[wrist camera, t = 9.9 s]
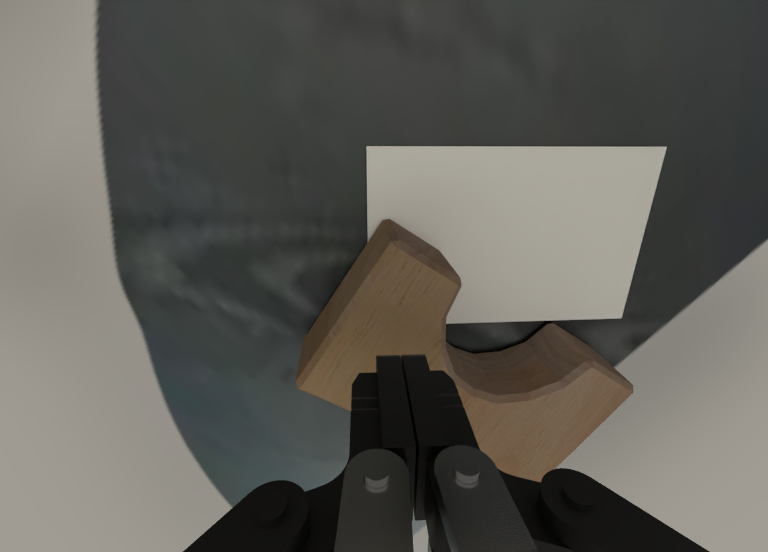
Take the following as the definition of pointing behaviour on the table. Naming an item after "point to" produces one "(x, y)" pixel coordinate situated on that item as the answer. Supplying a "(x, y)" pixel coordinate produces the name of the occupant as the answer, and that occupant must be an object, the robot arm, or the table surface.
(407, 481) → the robot arm
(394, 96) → the table surface
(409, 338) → the decorative block
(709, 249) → the table surface
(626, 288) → the mat
